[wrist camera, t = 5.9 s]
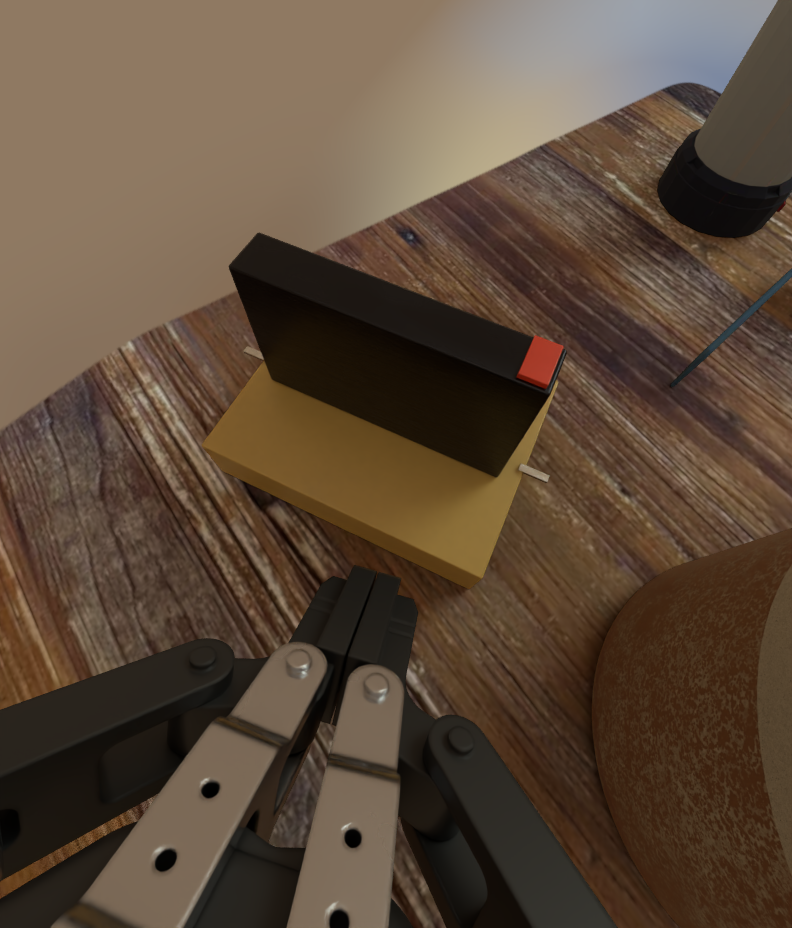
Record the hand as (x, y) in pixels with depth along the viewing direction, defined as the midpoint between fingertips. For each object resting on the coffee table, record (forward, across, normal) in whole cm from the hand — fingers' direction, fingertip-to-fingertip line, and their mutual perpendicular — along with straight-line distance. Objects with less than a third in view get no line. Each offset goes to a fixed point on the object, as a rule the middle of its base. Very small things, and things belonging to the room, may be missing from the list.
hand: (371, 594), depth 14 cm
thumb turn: (+10, +2, -3) cm, 10 cm away
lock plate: (+12, +2, -1) cm, 12 cm away
